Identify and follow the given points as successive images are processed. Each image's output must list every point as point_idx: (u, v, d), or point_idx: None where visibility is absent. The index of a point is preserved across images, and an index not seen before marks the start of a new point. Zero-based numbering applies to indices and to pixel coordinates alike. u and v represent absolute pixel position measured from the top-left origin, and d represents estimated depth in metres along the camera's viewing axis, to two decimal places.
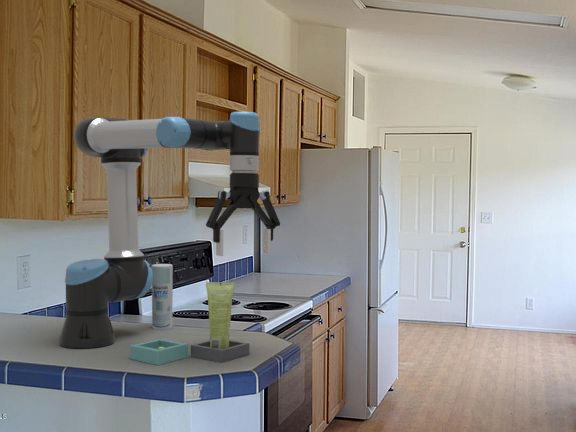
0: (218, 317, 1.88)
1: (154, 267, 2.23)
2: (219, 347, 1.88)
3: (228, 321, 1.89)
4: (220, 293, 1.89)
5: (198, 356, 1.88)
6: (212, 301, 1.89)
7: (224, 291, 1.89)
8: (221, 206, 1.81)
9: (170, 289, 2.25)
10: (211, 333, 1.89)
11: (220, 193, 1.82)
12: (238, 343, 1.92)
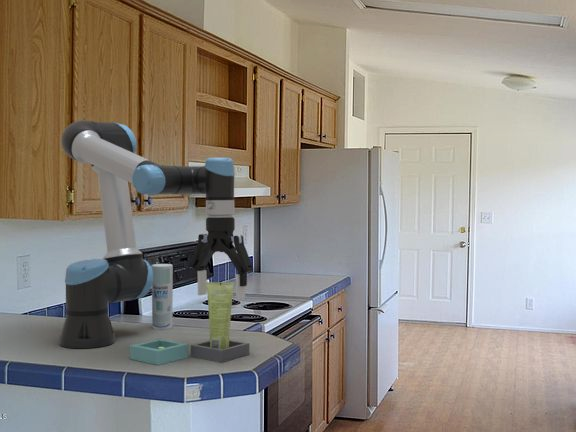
0: (218, 317, 1.88)
1: (154, 267, 2.23)
2: (219, 347, 1.88)
3: (228, 321, 1.89)
4: (220, 293, 1.89)
5: (198, 356, 1.88)
6: (212, 301, 1.88)
7: (224, 291, 1.89)
8: (198, 248, 1.92)
9: (170, 289, 2.25)
10: (211, 333, 1.89)
11: None
12: (238, 343, 1.92)
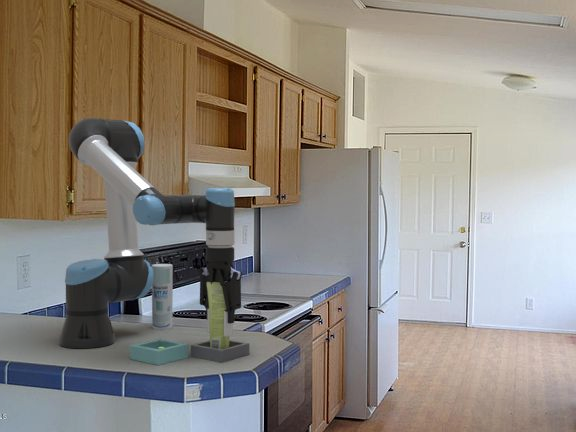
0: (218, 317, 1.88)
1: (154, 267, 2.23)
2: (219, 347, 1.88)
3: None
4: (221, 293, 1.89)
5: (198, 356, 1.88)
6: (212, 301, 1.88)
7: None
8: (202, 283, 1.92)
9: (170, 289, 2.25)
10: (211, 333, 1.89)
11: None
12: (238, 343, 1.92)
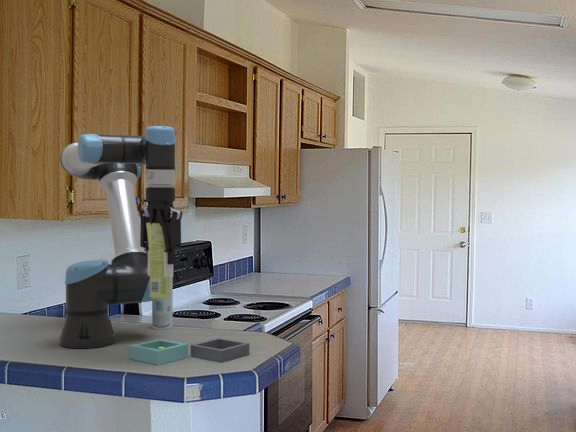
0: (158, 259, 1.84)
1: None
2: (159, 289, 1.84)
3: None
4: (161, 234, 1.85)
5: (198, 356, 1.88)
6: (152, 242, 1.85)
7: None
8: (142, 224, 1.88)
9: (170, 289, 2.25)
10: (151, 274, 1.85)
11: None
12: (238, 343, 1.92)
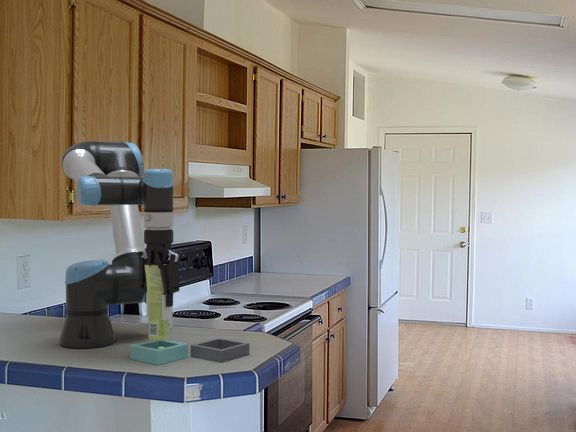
0: (157, 301, 1.84)
1: None
2: (157, 331, 1.84)
3: None
4: (159, 276, 1.85)
5: (198, 356, 1.88)
6: (150, 285, 1.85)
7: None
8: (141, 266, 1.88)
9: None
10: (149, 316, 1.85)
11: None
12: (238, 343, 1.92)
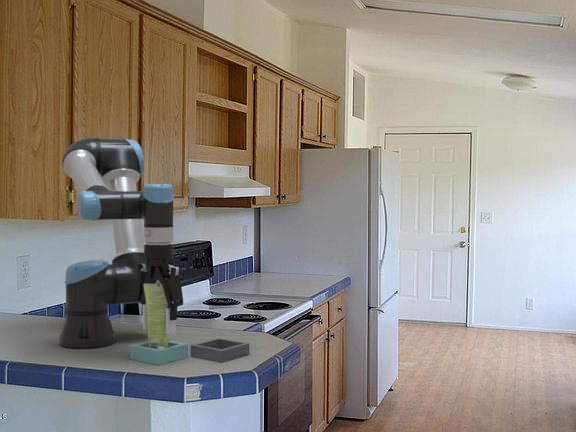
0: (156, 319, 1.85)
1: None
2: None
3: None
4: (158, 294, 1.86)
5: (198, 356, 1.88)
6: (150, 303, 1.85)
7: (162, 292, 1.86)
8: (139, 279, 1.89)
9: None
10: (149, 335, 1.85)
11: None
12: (238, 343, 1.92)
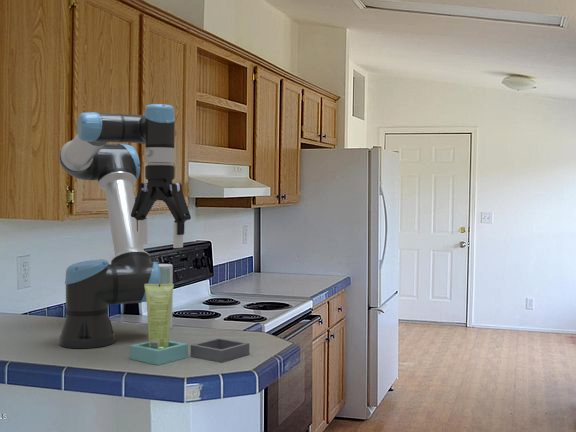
0: (157, 320, 1.85)
1: None
2: None
3: (167, 323, 1.86)
4: (159, 295, 1.86)
5: (198, 356, 1.88)
6: (150, 303, 1.85)
7: (163, 293, 1.86)
8: (138, 197, 1.90)
9: None
10: (150, 335, 1.85)
11: None
12: (238, 343, 1.92)
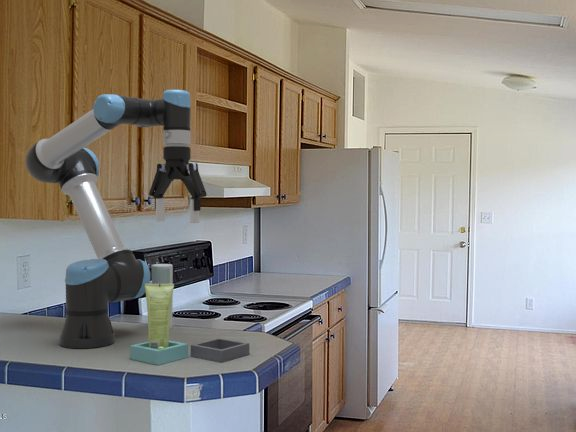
0: (157, 320, 1.85)
1: (154, 267, 2.23)
2: None
3: (167, 323, 1.86)
4: (159, 295, 1.86)
5: (198, 356, 1.88)
6: (151, 303, 1.85)
7: (163, 293, 1.86)
8: (156, 177, 2.04)
9: None
10: (150, 335, 1.85)
11: None
12: (238, 343, 1.92)
